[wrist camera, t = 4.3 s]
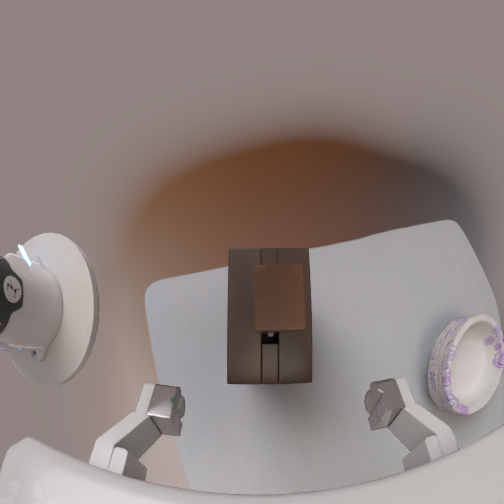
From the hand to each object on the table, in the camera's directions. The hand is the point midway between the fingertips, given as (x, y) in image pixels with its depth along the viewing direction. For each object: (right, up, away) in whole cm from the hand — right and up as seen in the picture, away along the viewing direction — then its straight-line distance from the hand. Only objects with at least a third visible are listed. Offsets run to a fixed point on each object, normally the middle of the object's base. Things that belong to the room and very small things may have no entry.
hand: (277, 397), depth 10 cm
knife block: (+1, -4, +26) cm, 26 cm away
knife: (0, -1, +17) cm, 16 cm away
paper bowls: (+31, -13, +23) cm, 41 cm away
